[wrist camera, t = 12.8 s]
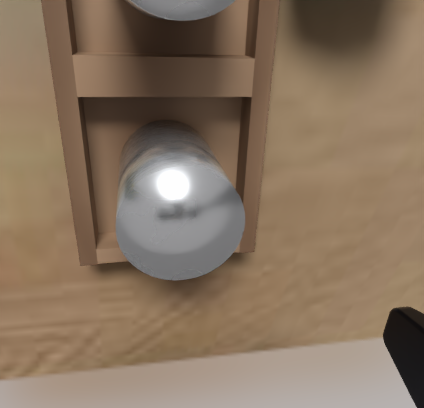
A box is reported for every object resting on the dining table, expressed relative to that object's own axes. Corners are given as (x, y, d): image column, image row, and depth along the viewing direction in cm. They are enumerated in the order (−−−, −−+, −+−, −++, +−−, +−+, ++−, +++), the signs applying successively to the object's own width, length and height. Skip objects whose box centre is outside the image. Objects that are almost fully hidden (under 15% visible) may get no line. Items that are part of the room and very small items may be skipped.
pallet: (284, -193, 13) (308, -226, 12) (246, 237, 21) (257, 257, 20) (13, -234, 12) (-9, -280, 10) (82, 249, 20) (76, 273, 18)
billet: (213, 119, 17) (249, 163, 12) (210, 203, 19) (240, 274, 14) (115, 120, 16) (109, 169, 11) (123, 209, 18) (121, 285, 13)
